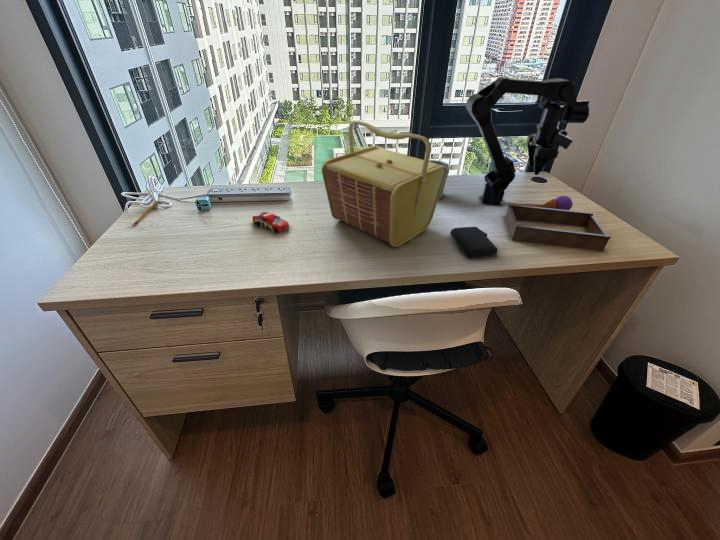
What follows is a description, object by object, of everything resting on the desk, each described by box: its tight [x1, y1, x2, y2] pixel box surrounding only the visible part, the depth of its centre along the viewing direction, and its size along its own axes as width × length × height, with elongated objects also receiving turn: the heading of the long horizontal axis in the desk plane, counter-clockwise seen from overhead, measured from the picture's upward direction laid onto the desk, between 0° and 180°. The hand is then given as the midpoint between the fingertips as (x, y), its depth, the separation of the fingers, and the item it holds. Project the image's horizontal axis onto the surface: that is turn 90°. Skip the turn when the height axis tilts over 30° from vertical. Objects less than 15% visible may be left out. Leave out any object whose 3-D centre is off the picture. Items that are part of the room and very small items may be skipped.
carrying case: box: [450, 226, 498, 259], centre depth 97 cm, size 11×3×15 cm
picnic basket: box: [321, 120, 447, 248], centre depth 99 cm, size 29×26×30 cm
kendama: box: [512, 195, 574, 210], centre depth 116 cm, size 6×6×20 cm
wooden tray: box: [504, 203, 612, 252], centre depth 104 cm, size 26×16×5 cm, turn 78°
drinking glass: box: [429, 159, 451, 200], centre depth 124 cm, size 10×10×12 cm
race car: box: [252, 211, 290, 234], centre depth 105 cm, size 13×5×4 cm, turn 57°
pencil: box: [132, 199, 160, 227], centre depth 111 cm, size 19×1×1 cm, turn 3°
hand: (533, 170), depth 117 cm, fingers open, 9 cm apart
